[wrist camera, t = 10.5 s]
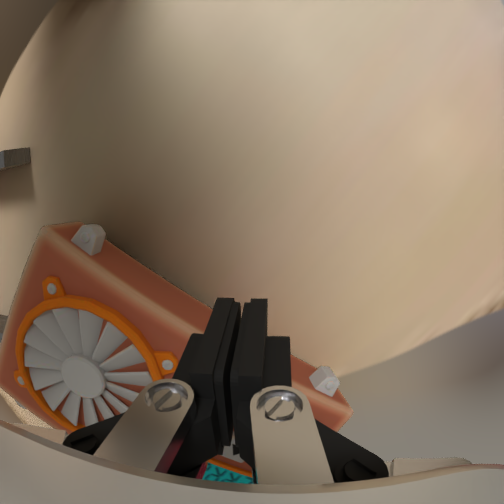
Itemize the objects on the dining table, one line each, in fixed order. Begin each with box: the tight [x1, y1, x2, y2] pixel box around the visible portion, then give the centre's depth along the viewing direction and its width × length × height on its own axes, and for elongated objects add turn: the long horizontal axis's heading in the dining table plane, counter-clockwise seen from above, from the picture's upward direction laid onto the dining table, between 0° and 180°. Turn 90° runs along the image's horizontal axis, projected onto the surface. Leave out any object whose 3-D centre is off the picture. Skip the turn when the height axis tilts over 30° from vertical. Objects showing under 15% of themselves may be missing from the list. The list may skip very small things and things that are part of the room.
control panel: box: [0, 221, 353, 484], centre depth 19 cm, size 21×7×15 cm
